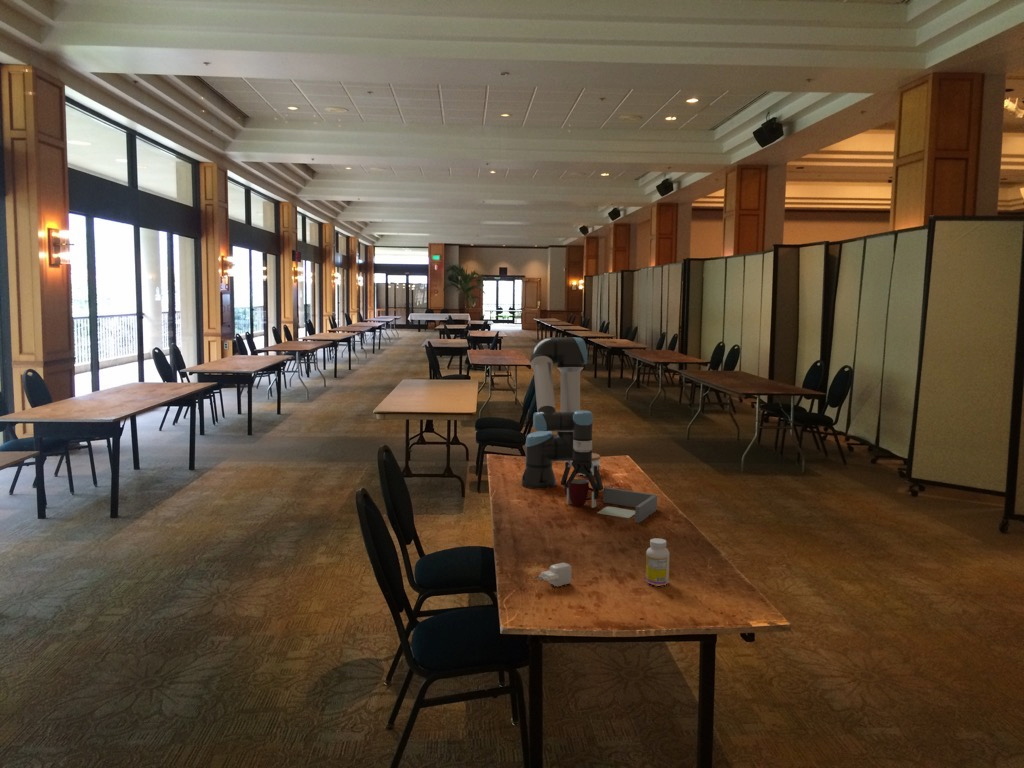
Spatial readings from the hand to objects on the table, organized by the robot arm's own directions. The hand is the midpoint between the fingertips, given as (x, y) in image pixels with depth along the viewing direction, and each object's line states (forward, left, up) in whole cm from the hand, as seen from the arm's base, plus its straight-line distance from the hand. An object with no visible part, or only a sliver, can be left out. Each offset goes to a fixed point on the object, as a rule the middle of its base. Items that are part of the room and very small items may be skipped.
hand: (581, 505), depth 301 cm
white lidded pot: (-20, +48, -1) cm, 52 cm away
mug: (0, 0, -1) cm, 1 cm away
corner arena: (+17, +1, 0) cm, 17 cm away
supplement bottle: (+53, -61, -1) cm, 81 cm away
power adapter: (+28, -79, -1) cm, 84 cm away
